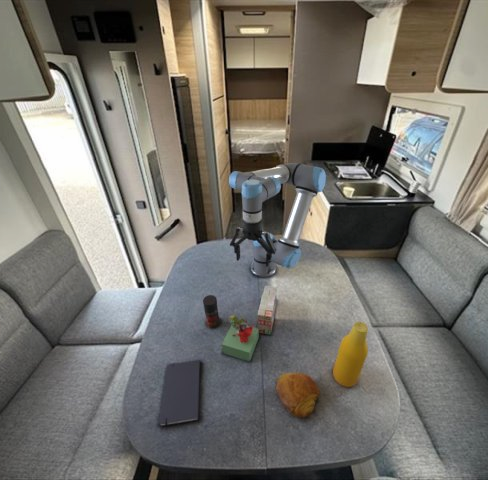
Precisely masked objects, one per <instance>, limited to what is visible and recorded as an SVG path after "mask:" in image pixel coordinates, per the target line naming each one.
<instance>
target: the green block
mask: <svg viewBox="0 0 488 480" xmlns="http://www.w3.org/2000/svg"><path fill="white" fill-rule="evenodd" d="M248 327H251V326H250V325H247V328H248ZM236 331H237V330H236V329H235V328H234V327H233V326H232V324H231V326H230V327H229V329H228V331H227V333H226V335H225V337H224V339H223V341H222V343H221V349H222V354H224V355H228V356H230V357H234V358H237V359H240V360H244V361H247V362H251V360H252V357H253V354H254V352H255V349H256V346H257V344H258V340H259V338H260V333H259V329H258V327H255V326H253V327H252V335H250V336H249V337H248V341H247V342H242V343H241V342H240V337H239V336H238V335H237V334H236ZM234 334H235V335H234ZM232 335H234V336H232Z"/></svg>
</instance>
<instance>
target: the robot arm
mask: <svg viewBox="0 0 488 480" xmlns="http://www.w3.org/2000/svg"><path fill="white" fill-rule="evenodd" d="M326 179H327V174H326V171H325V170H324V168H322V167H318V166H316V165H315V166H314V165H310V164H303V163H300V162H289V163H284V164H283V163H282V164H278V165H276V166H275V167H271V168H264V169H258V170H252V171H245V172H242V171H237V170H234V171H232V172H230V174H229V177H228V185H229V186H230V187H231V188H232V189H234V190H236V191H240V192H241V202H242V227H241V226H240V225H238V226H237V227H236V229H235V233H234V235H233V237H232V239H231V241H230V243H229V246H230V247H233V252H234V254H235V255H236V256H235V257H236V261H239V260H240V259H241V244H242V243H243V242H244V241H245V240H248V241H253V242H252V246H253V247H252V249H253V259H252V262H251V264H250V272H251V274H252V275H254V276H256V277H258V278H269V277H273V275H275V274H276V273H277V265H279V266H281V267H283V268H286V269H292V268H294V267H295V266H296V265H297V263H298V262H299V260H300V258H301V255H302V250H301V249H300V246H301V245H300V242H299V240H300V238H301V237H300V236H301V234H302V232H303V229H304V225H305V223H306V219H307V216H308V214H309V211H310V209H311V208H310V207H311V205H312V202H313V199H314V198H315V197H317V196H318V193H322V192H323V191H324V189H325V186H326V181H327V180H326ZM282 184H286V185H291V186H295V188H294V189H295V192H296V196H295V197H294V201H293V203H292V207H291V210H290V212H289V216H288V219H287V222H286V224H285V228H284V231H283V233H282V236H281V237H279V238H278V240H276V237H275V235H274V234H272V233H271V232H270V231H269V230H267V231H263V230H262V229H263V222H262V221H263V220H262V219H263V203H264V202H265V201H267V200H269V199H271V198H273V197H275V196H276V195H277V194H278V193H279V192H280V191H281V188H282ZM241 233H242V234H243V236H242V237H240V239H238V237H239V235H240V234H241ZM237 239H238V240H237Z"/></svg>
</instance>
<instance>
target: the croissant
mask: <svg viewBox="0 0 488 480" xmlns="http://www.w3.org/2000/svg"><path fill="white" fill-rule="evenodd" d="M275 390H276V392H277V395H278V399H279V400H280V402H281V404H282V405H283V406H284V408H285V410H287V412H288V413H290V414H291V415H292V416H293V417H296V418H299V419H301V418H306V417H308V416H310V415H311V414H312V413H313V411H314V410H315V406H316V402H317V399H318V398H319V394H320V389H319V387H318V386H317V384H316V382H315V381H314V379H313V378H312V377H311V376H310V375H308V374H306V373H302V372H286V373H283V374H280V375H279V377H278V379H277V382H276V387H275Z"/></svg>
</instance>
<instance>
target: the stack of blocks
mask: <svg viewBox="0 0 488 480" xmlns="http://www.w3.org/2000/svg"><path fill="white" fill-rule="evenodd" d="M277 297H278V287H277V286H268V285H264V288H263V293H262V294H261V297H260V299H261V300H260V304H259V306H258V307H259V308H258V310H257V320H256V321H257V328H258V329H259V334H263V335H269V336H270V335H272V330H273V325H274V319H275V311H276V307H277V302H278V301H277Z"/></svg>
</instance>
